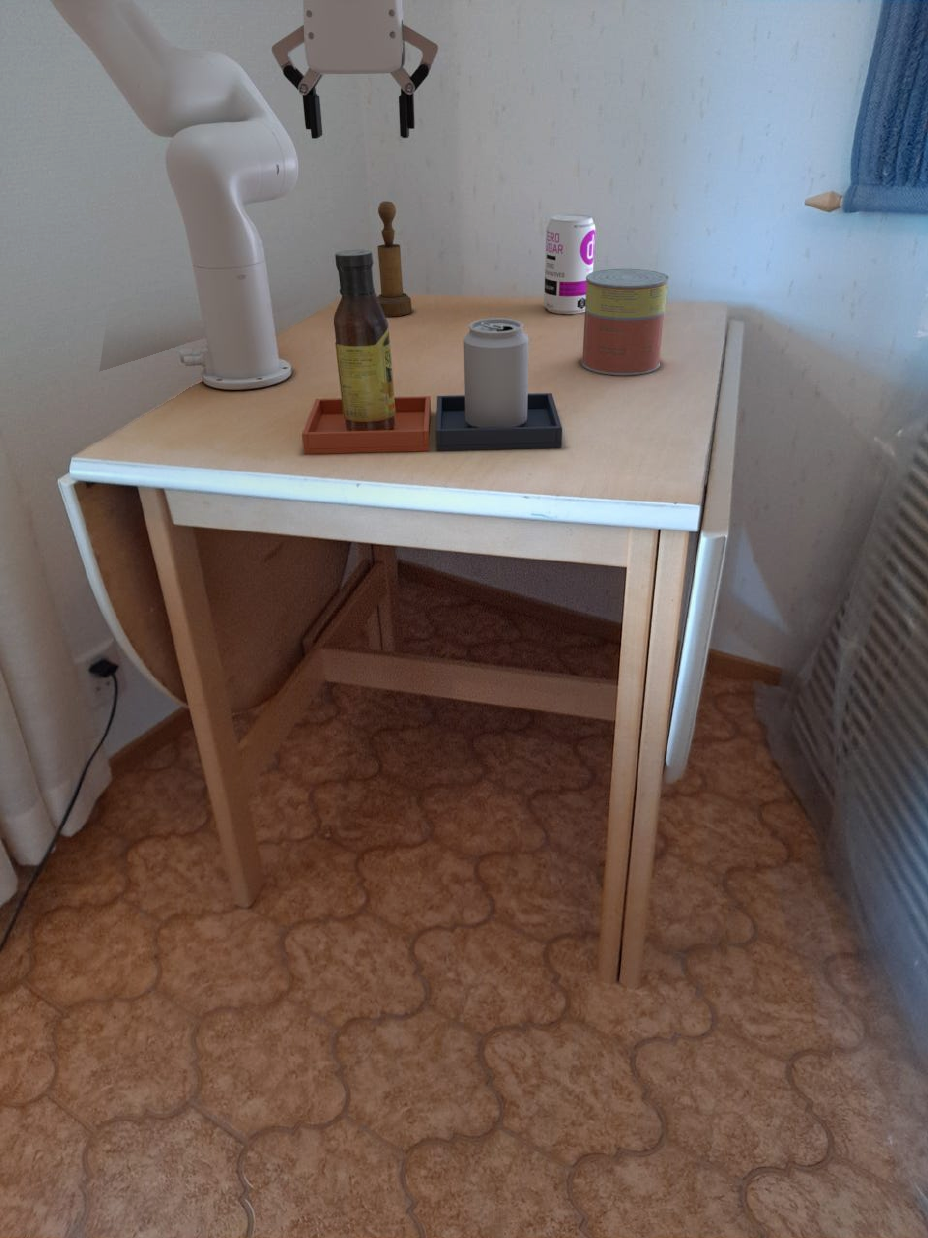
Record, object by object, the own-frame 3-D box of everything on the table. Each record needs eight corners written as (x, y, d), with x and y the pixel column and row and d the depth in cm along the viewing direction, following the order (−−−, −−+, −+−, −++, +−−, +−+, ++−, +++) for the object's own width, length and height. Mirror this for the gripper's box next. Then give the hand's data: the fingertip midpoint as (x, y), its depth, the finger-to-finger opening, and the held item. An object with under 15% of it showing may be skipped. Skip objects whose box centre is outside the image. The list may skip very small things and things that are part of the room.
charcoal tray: (436, 450, 99) (435, 430, 98) (437, 414, 109) (436, 395, 108) (561, 447, 99) (562, 427, 98) (551, 411, 109) (551, 392, 108)
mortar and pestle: (371, 309, 156) (363, 200, 146) (406, 306, 158) (400, 197, 148) (379, 318, 151) (371, 205, 141) (415, 314, 152) (410, 202, 143)
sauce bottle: (403, 433, 102) (392, 254, 92) (352, 441, 101) (334, 259, 90) (387, 415, 108) (374, 244, 97) (338, 423, 106) (319, 249, 95)
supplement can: (597, 306, 154) (603, 215, 146) (577, 317, 149) (582, 222, 141) (557, 301, 158) (560, 212, 150) (536, 311, 152) (538, 219, 144)
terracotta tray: (304, 453, 99) (301, 434, 98) (318, 417, 110) (315, 398, 108) (429, 450, 99) (428, 430, 98) (431, 414, 109) (430, 395, 108)
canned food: (675, 362, 126) (685, 275, 119) (628, 380, 119) (636, 289, 113) (613, 348, 132) (619, 265, 126) (565, 364, 126) (569, 277, 119)
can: (522, 438, 100) (524, 332, 94) (459, 434, 102) (456, 330, 95) (531, 415, 106) (533, 315, 100) (471, 412, 108) (470, 313, 101)
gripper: (438, -59, 88) (441, 133, 97) (268, -58, 88) (288, 134, 98) (434, -68, 81) (438, 139, 91) (252, -65, 82) (275, 140, 91)
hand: (361, 136), depth 94 cm, fingers open, 9 cm apart
